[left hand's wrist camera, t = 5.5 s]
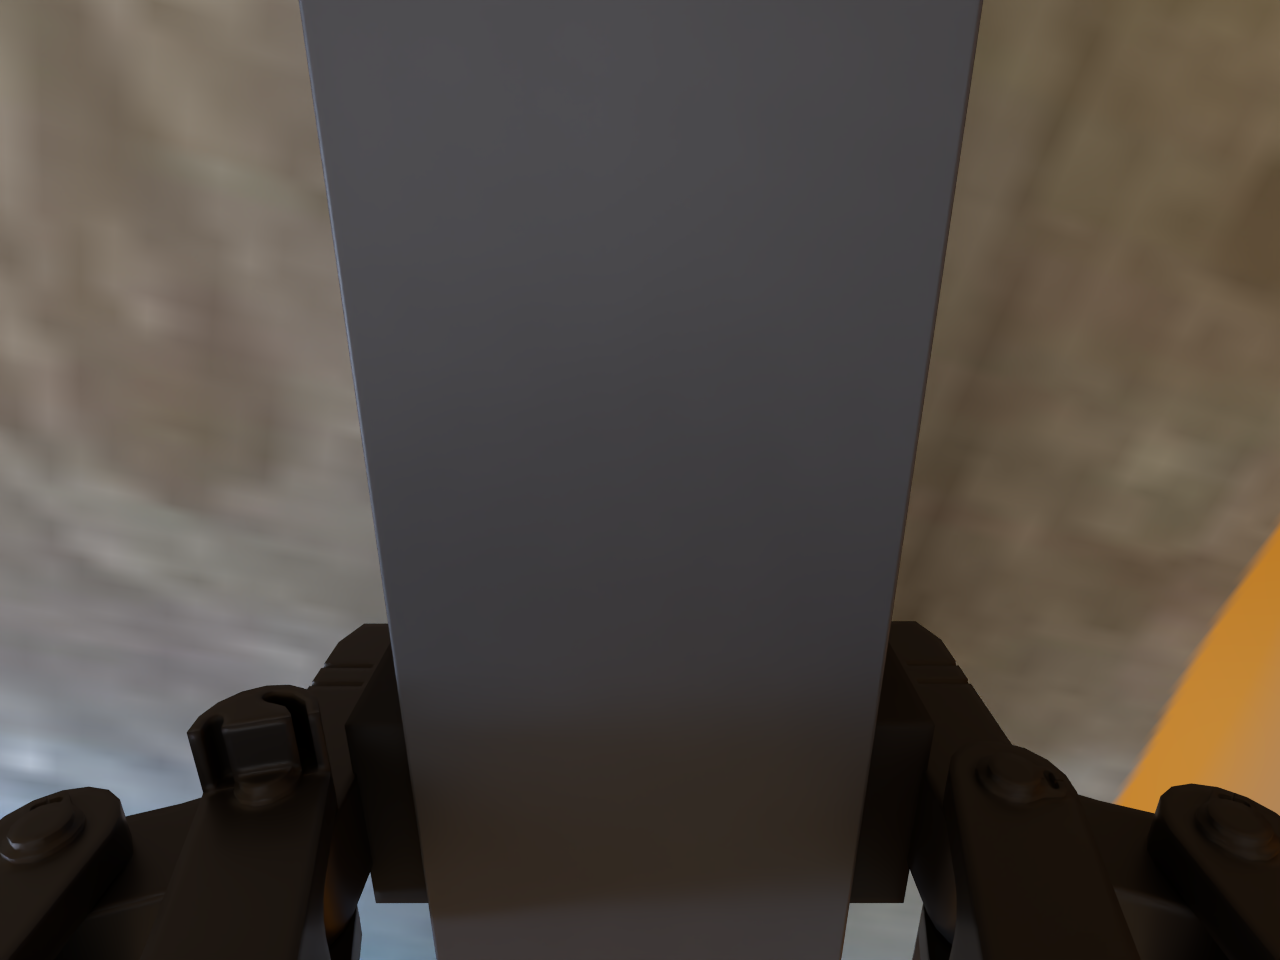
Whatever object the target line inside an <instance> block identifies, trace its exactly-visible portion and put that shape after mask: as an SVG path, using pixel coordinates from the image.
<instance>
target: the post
mask: <svg viewBox="0 0 1280 960" xmlns="http://www.w3.org/2000/svg"><path fill="white" fill-rule="evenodd" d="M299 5H300V12H301V19H302V26H303V33H304V40H305V47H306V54H307V61H308V68H309V75H310V82H311V89H312V96H313V103H314V110H315V117H316V124H317V131H318V138H319V145H320V152H321V159H322V166H323V173H324V180H325V186H326V193H327V200H328V207H329V214H330V221H331V228H332V235H333V242H334V249H335V256H336V263H337V270H338V277H339V284H340V291H341V298H342V305H343V312H344V319H345V326H346V333H347V340H348V347H349V354H350V361H351V368H352V374H353V381H354V388H355V395H356V402H357V409H358V416H359V423H360V430H361V437H362V444H363V451H364V458H365V465H366V472H367V479H368V486H369V493H370V500H371V507H372V514H373V521H374V528H375V535H376V542H377V549H378V556H379V562H380V569H381V576H382V583H383V590H384V597H385V604H386V611H387V618H388V625H389V632H390V639H391V646H392V653H393V660H394V667H395V674H396V681H397V688H398V695H399V702H400V709H401V716H402V723H403V730H404V737H405V743H406V750H407V757H408V764H409V771H410V778H411V785H412V792H413V799H414V806H415V813H416V820H417V827H418V834H419V841H420V848H421V855H422V862H423V869H424V876H425V883H426V890H427V897H428V904H429V911H430V918H431V925H432V931H433V938H434V945H435V952H436V959H437V960H841V957H842V951H843V944H844V937H845V930H846V924H847V917H848V910H849V903H850V897H851V890H852V883H853V876H854V869H855V863H856V856H857V849H858V842H859V836H860V829H861V822H862V815H863V809H864V802H865V795H866V788H867V782H868V775H869V768H870V761H871V755H872V748H873V741H874V734H875V728H876V721H877V714H878V707H879V701H880V694H881V687H882V680H883V674H884V667H885V660H886V653H887V647H888V640H889V633H890V626H891V619H892V613H893V606H894V599H895V592H896V586H897V579H898V572H899V565H900V559H901V552H902V545H903V538H904V532H905V525H906V518H907V511H908V505H909V498H910V491H911V484H912V478H913V471H914V464H915V457H916V451H917V444H918V437H919V430H920V424H921V417H922V410H923V403H924V397H925V390H926V383H927V376H928V369H929V363H930V356H931V349H932V342H933V336H934V329H935V322H936V315H937V309H938V302H939V295H940V288H941V282H942V275H943V268H944V261H945V255H946V248H947V241H948V234H949V228H950V221H951V214H952V207H953V201H954V194H955V187H956V180H957V174H958V167H959V160H960V153H961V147H962V140H963V133H964V126H965V119H966V113H967V106H968V99H969V92H970V86H971V79H972V72H973V65H974V59H975V52H976V45H977V38H978V32H979V25H980V18H981V11H982V5H983V0H299Z"/></svg>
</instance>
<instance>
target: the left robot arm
mask: <svg viewBox="0 0 1280 960" xmlns="http://www.w3.org/2000/svg"><path fill="white" fill-rule="evenodd" d="M187 735H188V739H189V743H190V746H191V750H192V754H193V757H194V761H195V764H196V768H197V772H198V775H199V779H200V783H201V786H202V790H203V795H202V798H198V799H195V800H192V801H189V802H185V803H182V804H178V805H173V806H169V807H165V808H160V809H156V810H152V811H147V812H143V813H139V814H135V815H130V816H126V817H125V814H124V811H123V808H122V805H121V802H120V799H119V798H118V797H116V796H115V795H114V794H113V793H112V792H111V791H109V790H106V789H100V788H93V787H84V788H76V789H69V790H62V791H60V792H57V793H54V794H51V795H48V796H45V797H42V798H39V799H37V800H34V801H32V802H30V803H28V804H26V805H24V806H23V807H21V808H19V809H17V810H15V811H13V812H12V813H10V814H8V815H6V816H4V817H3V818H2V819H1V820H0V960H360V950H361V939H362V931H361V924H360V917H359V912H358V907H357V904H358V901H359V899H360V896H361V894H362V891H363V888H364V886H365V883H366V881H367V878H368V876H369V873H370V872H371V878H372V883H373V889H374V895H375V900H376V903H428V897H427V890H426V883H425V876H424V869H423V862H422V855H421V848H420V841H419V834H418V827H417V820H416V813H415V806H414V799H413V792H412V785H411V778H410V771H409V764H408V757H407V750H406V743H405V737H404V730H403V723H402V716H401V709H400V702H399V695H398V688H397V681H396V674H395V667H394V660H393V653H392V646H391V639H390V632H389V625H388V624H363V625H362V626H360V627H359V628H358V629H356V630H355V631H354V632H352V633H351V634H349V635H348V636H347V637H345V638H344V639H343V640H341V641H340V642H339V643H338V644H337V646H336V647H335V649H334V650H333V652H332V653H331V655H330V656H329V658H328V659H327V661H326V662H325V663H324V668H321V669H320V671H319V672H318V674H317V675H316V677H315V678H314V680H313V681H312V686H309V687H308V689H304V688H300V687H296V686H292V685H271V686H263V687H259V688H255V689H251V690H247V691H243V692H240V693H238V694H236V695H234V696H231V697H229V698H227V699H225V700H223V701H220V702H218V703H217V704H215V705H214V706H213V707H211V708H210V709H209V710H207V711H206V712H205V713H203V714H202V715H200V716H199V717H198V718H197V720H196V721H195V722H194V724H193V725H192V726H191V728H190V729H189V730H188V732H187ZM909 869H910V871H911V873H912V876H913V878H914V881H915V883H916V886H917V888H918V891H919V893H920V896H921V899H922V901H923V907H922V912H921V917H920V923H919V928H918V933H917V938H916V944H915V949H914V954H913V959H912V960H1280V816H1279V815H1278V814H1277V813H1275V812H1273V811H1271V810H1270V809H1268V808H1266V807H1264V806H1262V805H1260V804H1258V803H1257V802H1255V801H1253V800H1251V799H1249V798H1247V797H1245V796H1242V795H1239V794H1236V793H1233V792H1230V791H1227V790H1224V789H1221V788H1218V787H1213V786H1205V785H1198V784H1186V785H1179V786H1173V787H1171V788H1170V789H1169V790H1167V791H1166V792H1165V793H1164V794H1163V795H1161V797H1160V800H1159V803H1158V806H1157V809H1156V812H1155V814H1154V813H1150V812H1146V811H1141V810H1137V809H1133V808H1128V807H1124V806H1120V805H1115V804H1111V803H1107V802H1102V801H1098V800H1095V799H1092V798H1088V797H1085V796H1082V795H1078V794H1077V792H1076V790H1075V789H1074V787H1073V785H1072V784H1071V782H1070V781H1069V779H1068V778H1067V776H1066V775H1065V774H1064V773H1063V772H1061V771H1060V770H1059V769H1058V768H1057V767H1055V766H1054V765H1053V764H1052V763H1051V762H1049V761H1048V760H1047V759H1045V758H1043V757H1041V756H1039V755H1037V754H1035V753H1033V752H1031V751H1029V750H1027V749H1025V748H1022V747H1018V746H1015V745H1012V744H1011V743H1010V741H1009V740H1008V738H1007V737H1006V735H1005V734H1004V732H1003V731H1002V729H1001V728H1000V726H999V725H998V723H997V722H996V720H995V719H994V717H993V716H992V714H991V713H990V711H989V710H988V709H987V707H986V706H985V704H984V703H983V701H982V700H981V698H980V697H979V695H978V694H977V692H976V691H975V689H974V688H973V686H972V685H971V684H968V679H967V677H966V676H965V674H964V673H963V671H962V670H961V668H960V667H959V666H956V661H955V660H954V658H953V657H952V655H951V654H950V652H949V651H948V649H947V648H946V646H945V645H944V643H943V642H942V640H941V639H939V638H938V637H937V636H935V635H934V634H932V633H931V632H930V631H928V630H927V629H925V628H924V627H923V626H921V625H920V624H919V623H917V622H916V621H891V626H890V633H889V640H888V647H887V653H886V660H885V667H884V674H883V680H882V687H881V694H880V701H879V707H878V714H877V721H876V728H875V734H874V741H873V748H872V755H871V761H870V768H869V775H868V782H867V788H866V795H865V802H864V809H863V815H862V822H861V829H860V836H859V842H858V849H857V856H856V863H855V869H854V876H853V883H852V890H851V897H850V903H904V897H905V892H906V886H907V881H908V875H909Z"/></svg>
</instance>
